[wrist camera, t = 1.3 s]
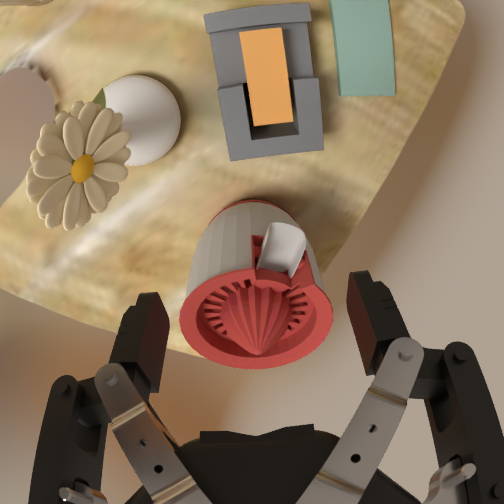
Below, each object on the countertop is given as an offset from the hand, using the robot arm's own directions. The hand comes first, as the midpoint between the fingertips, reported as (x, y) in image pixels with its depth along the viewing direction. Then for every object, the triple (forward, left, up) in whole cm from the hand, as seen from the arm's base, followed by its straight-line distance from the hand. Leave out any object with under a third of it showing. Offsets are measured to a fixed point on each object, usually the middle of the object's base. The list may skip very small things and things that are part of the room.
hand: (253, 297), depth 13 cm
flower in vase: (-4, -12, -28) cm, 31 cm away
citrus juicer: (+15, -1, -28) cm, 32 cm away
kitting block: (-6, +3, -28) cm, 29 cm away
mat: (-9, +15, -28) cm, 33 cm away
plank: (-6, +3, -25) cm, 26 cm away
